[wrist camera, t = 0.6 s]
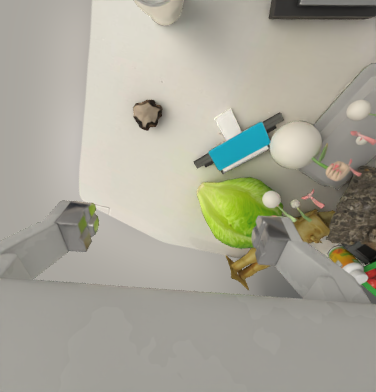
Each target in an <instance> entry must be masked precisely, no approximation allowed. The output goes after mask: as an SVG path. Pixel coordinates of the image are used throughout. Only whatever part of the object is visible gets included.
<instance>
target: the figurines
mask: <svg viewBox="0 0 376 392" xmlns="http://www.w3.org/2000/svg"><path fill="white" fill-rule="evenodd" d="M370 112H371V105H370V103H369V102H368V101H366V100H357V101H355V102H353V103H351V104H350V105H349V107H348V108H347V111H346V114H347V117H348V118H349V119H350V120H353V121H359V120H362V119H364V118H366V117H367V116H368V115H372V116H376V114H371V113H370ZM350 133H351V135H352V136H355V135H356V137H357V136H359V137H357V139H356V143H357V144H358V145H364V144H366V143H367V142H369V143H370V144H372V145H374V144H376V140H375V139H372V138H370V137H367V136H365V135H362V134H360V132H359V133H358V132H357V131H351V132H350ZM321 147H322V138H321V135H320V133H319V131H318V130H317V128H316V127H314V126H313V125H312V124H310V123H307V122H304V121H294V122H290V123H287V124H285V125H283V126H282V127H280V128H279V129H278V130H277V131H276V132H275V133H274V135H273V137H272V139H271V142H270V153H271V156H272V158H273V159H274V161H275V162H276V163H277V164H279V165H280V166H282V167H284V168H288V169H299V168H302V167H305V166H307V165H309V164H310V163H312V162H313V161H314V162H315V163H316V164H318V165H319V166H321V167H323V168H324V169H326V175H327V177H328V178H329V179H331V180H333V181H340V180H342V179H343V178H344V177H345V176H346V175H347V174H348V172H349V171H352V172H353V173H354V174H355V175H357V176H358V177H359V176H361V174H362V173H359V172H357V171H355V170H354V169H353V168H351V167H350V165H351V163H352V159H350V162H349V164H345V163H344V162H341V161H337V162H335V163H334V164H333V163H332V164H331V165H330V166H327V165H325V164H323V163H321V161H322V160H323V158H324V157H325V154H326V151H327V148H328V143H326V145H325V147H324V148H323V151H322V153H321V155H320V158H319V161H318V160H317V159H316V158H317V156H318V155H319V153H320V151H321ZM313 193H314V189H313V190H312V192H311V193H310V194H308V196H304V197H302V199H304V200H305V199H308V198H309V197H310V198H311V200H312V201H313V202H314V203H315V204H316V205H317V206H318V207H320V208H321V209H322V208H323V207H324V206H325V204H322V203H320V202H318V201H317V200H315V199H314V198H313V197H312V196H311V195H313ZM262 201H263V204H264V205H265V206H266V207H268V208H275V207H277V206H278V207H279V209H280V210H281V211H282V212H283V213H284V214H285V215H286V216H287V217H289V218H291V220H292V221H293V222H296V221H297V219H295V218H294V217H292V216H291V215H289V214H288V213H287V212H285V211H284V210H283V209H282V208H281V207H280V206H279V204H280V202H281V197H280V195H279V194H278V193H277V192H275V191H268V192H266V193H265V194H264V195H263V198H262ZM290 205H291V207H292V208H297V209H298V211H299V213H300V214H301V215H302V217H303V218H304V219H306V220H307V221H308V222H311V221H312V219H311V218H309V217H307V216H306V215H305V214H304V213H303V212H302V211H301V210H300V209H299V208H298V207H299V206H300V202H299V201H298V200H292V201H291V203H290ZM272 216H273V217H284V216H275V215H272Z"/></svg>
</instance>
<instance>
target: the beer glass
mask: <svg viewBox="0 0 376 392" xmlns="http://www.w3.org/2000/svg"><path fill="white" fill-rule="evenodd" d="M133 1H134V2H135V4H136V5H137V6H138V7H139V8H140V9H141V10H142V11H143V12H144V13H145V14H147V15H148V16H150V17H151V19H152V20H153V21H154V22H156V23H157V24H159V25H162V26H169V25H172V24H173V23H175V22H176V21H177V20H178V19H179V17H180V15H181V13H182V10H183V3H184V1H183V0H133Z"/></svg>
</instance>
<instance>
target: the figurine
mask: <svg viewBox="0 0 376 392" xmlns="http://www.w3.org/2000/svg"><path fill="white" fill-rule="evenodd" d="M334 213H335V211H333V210H332V211H328V212H317V209H314V211H310V212H307V213H305V215H306V216H307V217H309V218H311V219H312V221H311V222H308V221H307V220H306V219H304V218H303V217H302V216H301V217H300V218H298V217H296V218H295V219H297V221H296V222H293V223H294V226H295V227H296V229H297V231H298V233H299V235H300V237H301V239H302V241H303V242H307V243H308V244H309V243H312V242H315V243H319V241H320V239H321V238H323V237H324V236H328V235H329V232H330V227H329V225H330V223H331V219H332V216H333V214H334ZM320 243H322V242H321V241H320ZM255 251H256V248H251V249H250V250H249V252H248V253H247V254H246V255H245V256H244V257H242V258H241V259H239V260H237V261H236V262H233V261H232V260H231V259H229V258H228V257H227V256H226V258H227V260H228V263H229V266H230V269H231V278H232V279H235V280H238V281H239V282H240V283H241V284H242V285H243V286H245V287H246V288H247V289H248V290H249V288H248V286H247V283H246V281H245V279H246V278H247V277H250V276H252V275H253V274H255V273H256V272H257V271H260V270H263V269H265V268H267V267H269V265H259V264H258V263H257V259H256V256H255ZM249 264H250V266H248V267H246V268H245V269H243V270H242V268H244V267H245V266H247V265H249ZM237 272H238V274H239V275H238V274H237Z"/></svg>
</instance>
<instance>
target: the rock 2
mask: <svg viewBox="0 0 376 392" xmlns="http://www.w3.org/2000/svg"><path fill="white" fill-rule="evenodd" d="M357 172H359V173H362V174H361V176H359V177H358V176H357V175H355V174H354V175H353V177H352V179H351V181H350V184H349V186H348V188H347V189H346V191H345V192H344V194H343V196H342V197H341V198H340V202H339V203H337V212H335V213H334V214H333V216H332V219H331V223H330V225H329V227H330V232H329V235H328V237H327V238H326V240H330V241H331V242H332V243H337V242H338V243H339V244H343V243H344V244H347V245H353V244H354V243H355V242H354V241H360V242H361V244H366V245H368V246H369V247H371V248H372V249H374V250H376V168H374V167H367V166H360V167H359V169H358V170H357Z"/></svg>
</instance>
